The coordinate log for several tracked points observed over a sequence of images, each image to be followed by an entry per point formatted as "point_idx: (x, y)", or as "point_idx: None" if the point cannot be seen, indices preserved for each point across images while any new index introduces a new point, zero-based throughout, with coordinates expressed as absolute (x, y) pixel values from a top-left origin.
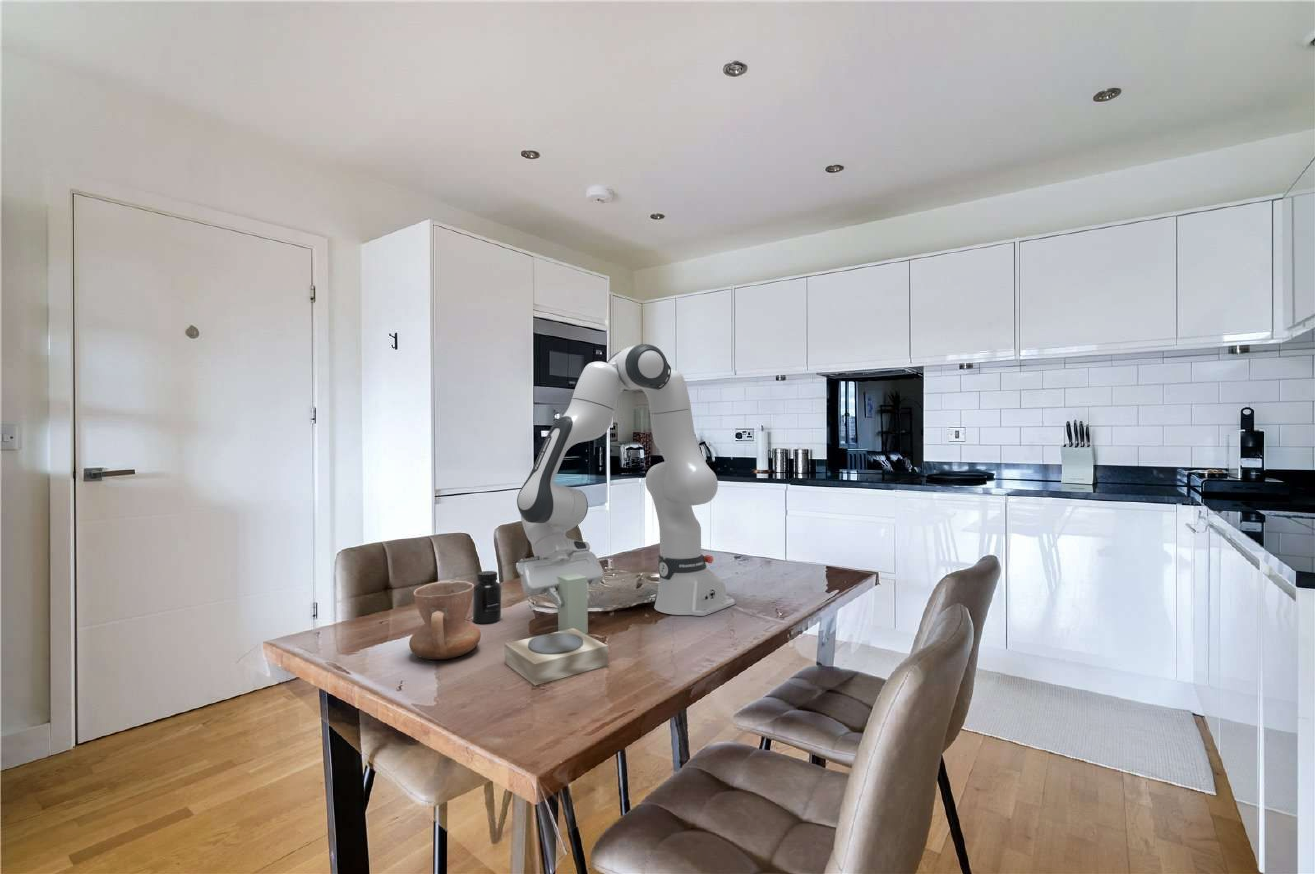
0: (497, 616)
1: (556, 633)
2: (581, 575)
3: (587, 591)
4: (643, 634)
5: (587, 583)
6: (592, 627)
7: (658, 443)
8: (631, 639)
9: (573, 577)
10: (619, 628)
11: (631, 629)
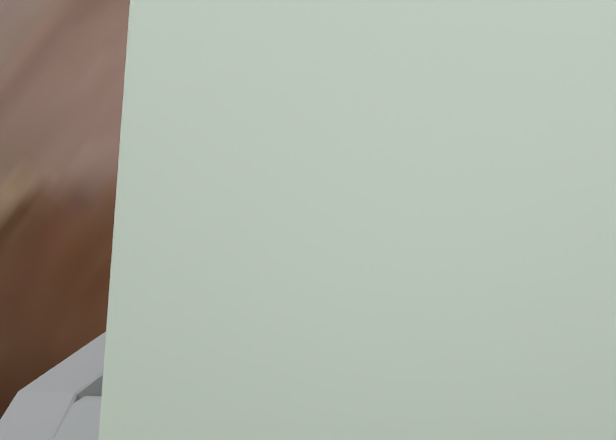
0: None
1: None
2: (149, 241)
3: None
4: (14, 59)
5: (18, 421)
6: None
7: None
8: (125, 24)
9: (471, 174)
10: (48, 254)
11: (4, 186)
